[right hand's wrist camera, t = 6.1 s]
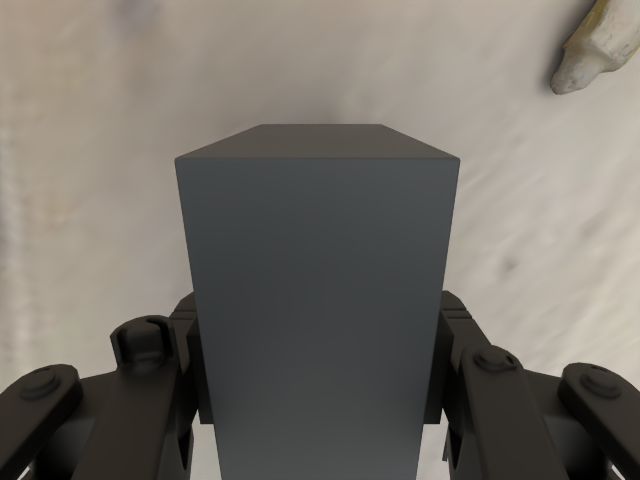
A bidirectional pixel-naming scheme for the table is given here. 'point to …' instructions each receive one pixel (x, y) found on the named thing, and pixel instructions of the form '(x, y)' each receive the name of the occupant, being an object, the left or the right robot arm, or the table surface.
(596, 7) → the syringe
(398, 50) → the table surface
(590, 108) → the table surface
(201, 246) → the bar
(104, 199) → the table surface
